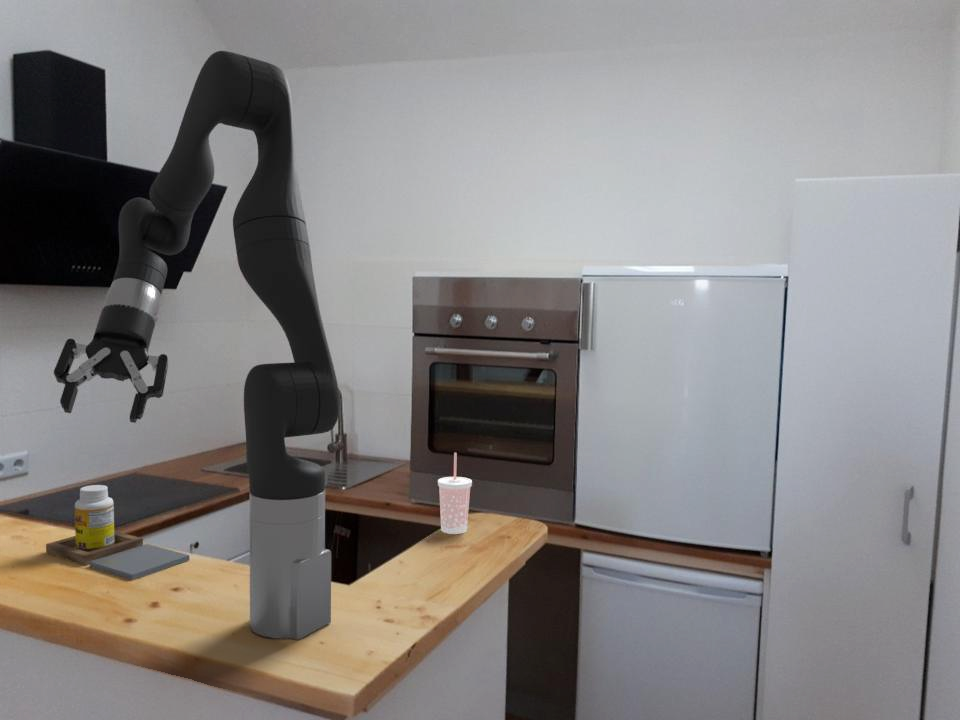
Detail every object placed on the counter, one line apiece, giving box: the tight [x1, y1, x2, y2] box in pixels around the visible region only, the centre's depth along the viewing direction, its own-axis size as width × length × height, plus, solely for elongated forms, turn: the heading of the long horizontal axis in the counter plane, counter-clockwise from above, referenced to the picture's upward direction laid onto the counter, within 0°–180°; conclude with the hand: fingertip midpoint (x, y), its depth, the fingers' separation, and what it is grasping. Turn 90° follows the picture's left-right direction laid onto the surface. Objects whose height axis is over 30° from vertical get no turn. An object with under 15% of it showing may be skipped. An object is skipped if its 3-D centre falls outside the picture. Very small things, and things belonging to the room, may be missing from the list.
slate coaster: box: [89, 543, 190, 581], centre depth 120 cm, size 10×10×1 cm
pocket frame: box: [45, 530, 144, 566], centre depth 126 cm, size 10×10×2 cm
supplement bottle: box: [74, 484, 115, 552], centre depth 125 cm, size 6×6×10 cm
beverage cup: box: [437, 452, 473, 535], centre depth 140 cm, size 6×6×14 cm
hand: (100, 415), depth 109 cm, fingers open, 8 cm apart
